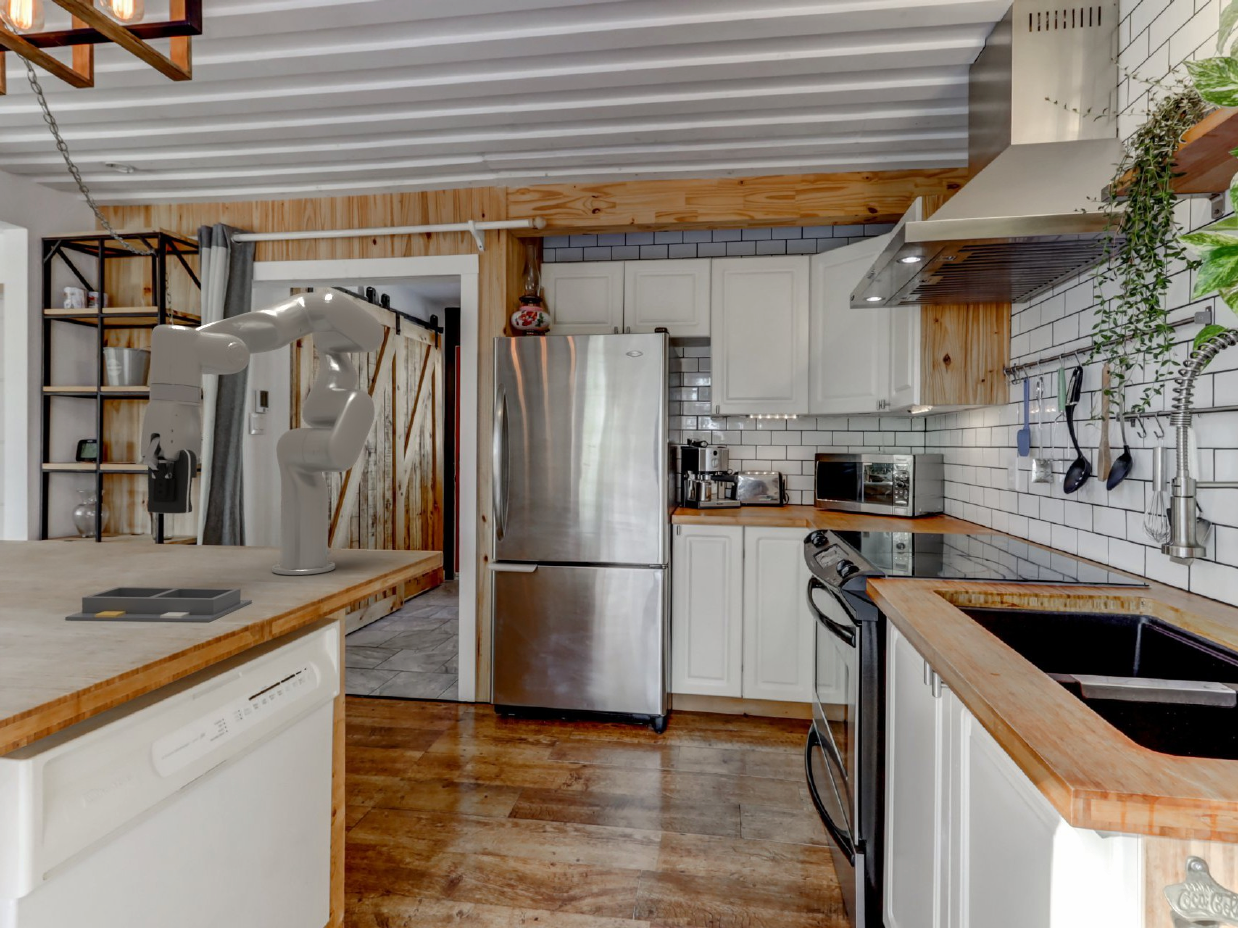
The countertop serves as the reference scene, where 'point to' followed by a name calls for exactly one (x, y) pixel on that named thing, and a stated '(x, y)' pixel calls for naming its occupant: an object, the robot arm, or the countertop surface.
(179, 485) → the battery charger
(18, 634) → the countertop surface
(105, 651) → the countertop surface
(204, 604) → the dock
